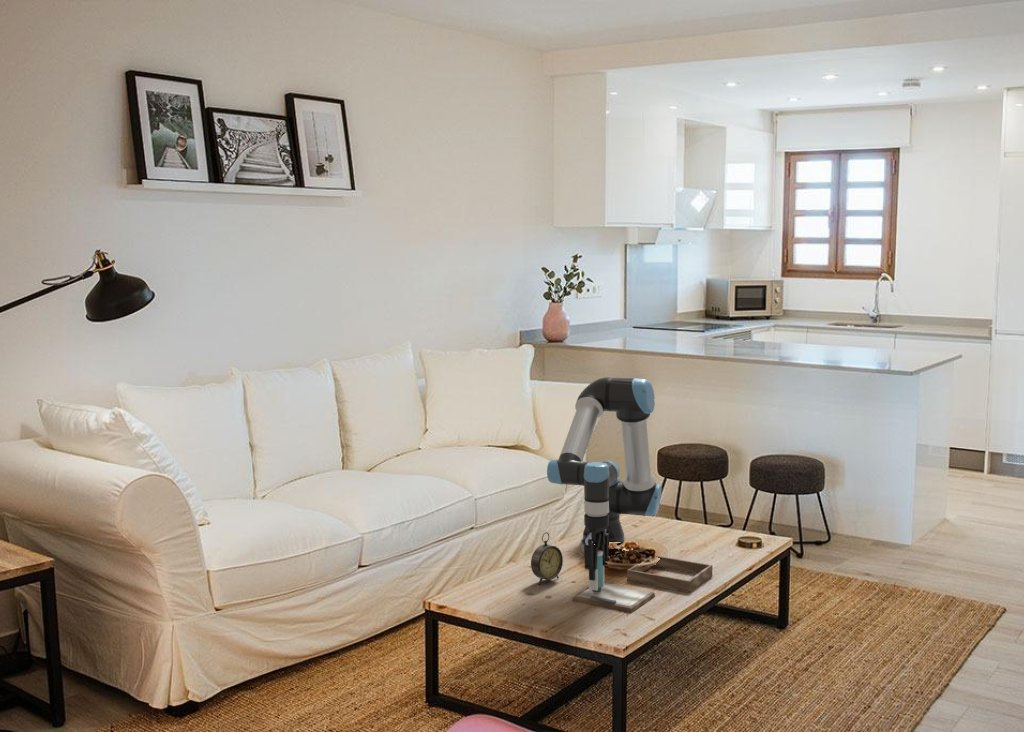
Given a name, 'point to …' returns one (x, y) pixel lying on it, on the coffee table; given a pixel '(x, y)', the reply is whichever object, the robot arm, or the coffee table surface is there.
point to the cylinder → (599, 570)
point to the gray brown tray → (668, 582)
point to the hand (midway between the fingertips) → (596, 587)
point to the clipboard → (615, 597)
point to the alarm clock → (546, 561)
